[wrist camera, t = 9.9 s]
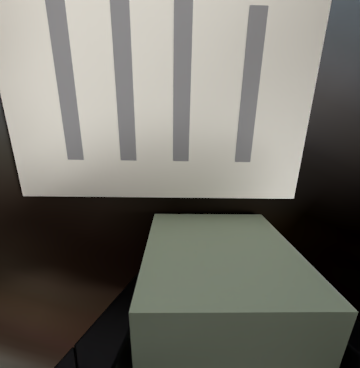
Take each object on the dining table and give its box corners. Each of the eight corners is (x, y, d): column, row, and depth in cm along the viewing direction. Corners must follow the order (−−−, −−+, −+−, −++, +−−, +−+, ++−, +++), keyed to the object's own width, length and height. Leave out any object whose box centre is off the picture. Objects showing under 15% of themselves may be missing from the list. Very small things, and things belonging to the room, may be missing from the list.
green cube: (249, 299, 9) (311, 446, 5) (156, 299, 9) (138, 450, 5) (260, 214, 8) (358, 312, 4) (154, 213, 8) (128, 313, 4)
